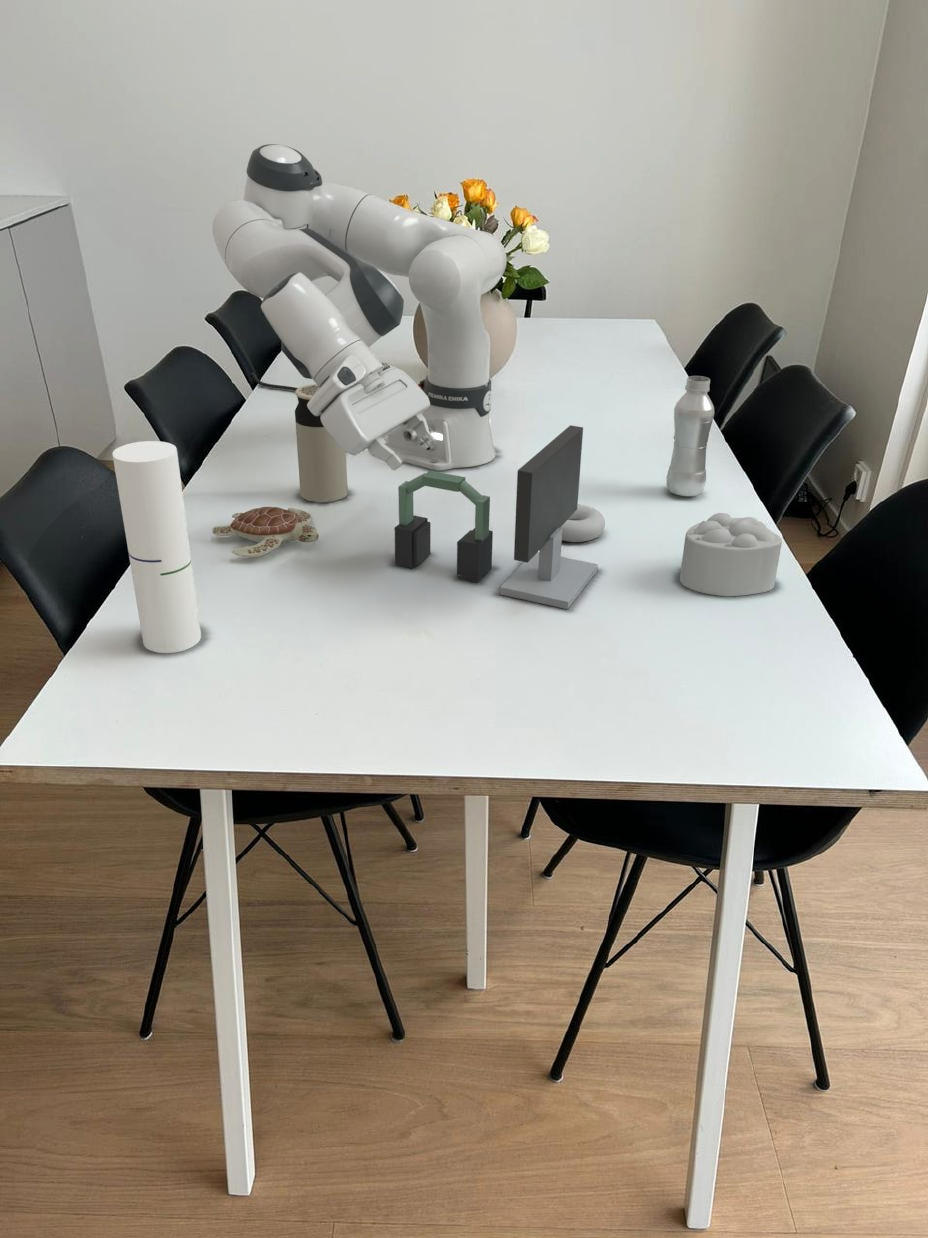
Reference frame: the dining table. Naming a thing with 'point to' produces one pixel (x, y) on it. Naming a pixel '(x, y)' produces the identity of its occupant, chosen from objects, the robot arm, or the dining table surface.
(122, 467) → the cylindrical container
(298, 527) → the decorative turtle
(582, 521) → the donut
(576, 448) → the monitor
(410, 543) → the headphones
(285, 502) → the dining table surface
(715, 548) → the lumpy-topped squat cylinder
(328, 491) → the travel mug
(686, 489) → the plastic bottle
